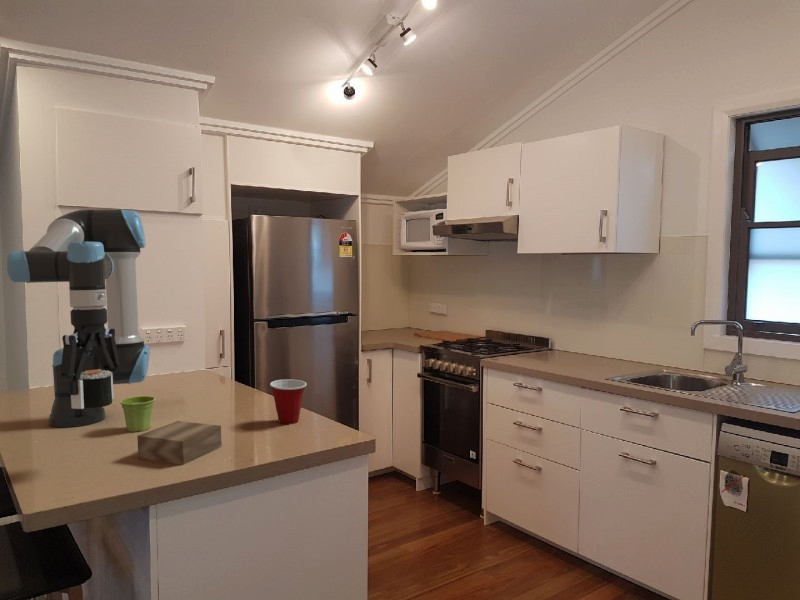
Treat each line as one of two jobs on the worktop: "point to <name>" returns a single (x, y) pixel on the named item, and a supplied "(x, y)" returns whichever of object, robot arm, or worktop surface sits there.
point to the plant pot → (138, 412)
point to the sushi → (96, 388)
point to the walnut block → (179, 442)
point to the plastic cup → (288, 399)
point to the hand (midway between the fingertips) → (93, 403)
